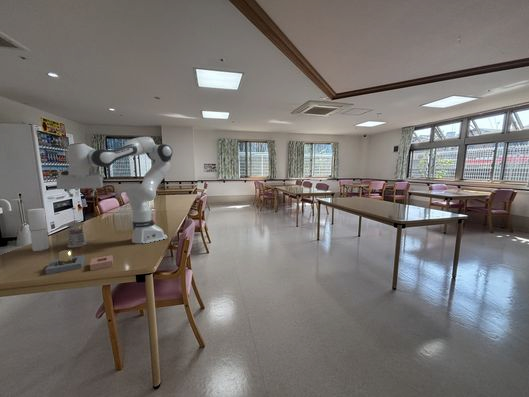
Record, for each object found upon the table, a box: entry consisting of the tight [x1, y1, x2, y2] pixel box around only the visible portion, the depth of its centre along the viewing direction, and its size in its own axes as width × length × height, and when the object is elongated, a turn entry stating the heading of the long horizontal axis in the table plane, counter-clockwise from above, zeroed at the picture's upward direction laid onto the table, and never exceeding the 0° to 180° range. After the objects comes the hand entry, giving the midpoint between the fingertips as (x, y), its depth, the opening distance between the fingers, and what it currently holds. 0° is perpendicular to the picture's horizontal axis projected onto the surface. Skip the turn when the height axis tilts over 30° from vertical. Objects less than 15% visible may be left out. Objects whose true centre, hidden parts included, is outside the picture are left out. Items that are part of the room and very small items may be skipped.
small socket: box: [89, 254, 114, 271], centre depth 113 cm, size 9×9×3 cm
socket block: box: [44, 254, 85, 275], centre depth 112 cm, size 13×13×2 cm
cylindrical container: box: [27, 207, 50, 252], centre depth 135 cm, size 7×7×25 cm
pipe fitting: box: [58, 249, 74, 265], centre depth 111 cm, size 6×6×8 cm
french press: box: [63, 207, 87, 248], centre depth 142 cm, size 10×12×25 cm
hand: (82, 196), depth 125 cm, fingers open, 8 cm apart
